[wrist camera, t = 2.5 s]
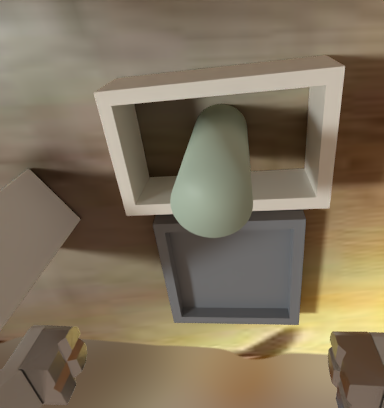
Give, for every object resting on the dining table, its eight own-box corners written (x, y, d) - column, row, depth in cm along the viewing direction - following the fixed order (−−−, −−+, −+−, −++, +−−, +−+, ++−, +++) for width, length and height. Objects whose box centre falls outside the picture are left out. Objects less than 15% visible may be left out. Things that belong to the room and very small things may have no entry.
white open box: (116, 78, 26) (93, 92, 22) (325, 54, 24) (345, 66, 19) (141, 187, 31) (126, 215, 27) (315, 178, 29) (329, 208, 24)
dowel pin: (192, 106, 27) (164, 170, 17) (246, 101, 26) (252, 164, 16) (197, 156, 29) (176, 238, 19) (248, 152, 28) (254, 236, 18)
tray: (156, 212, 33) (152, 224, 31) (302, 207, 30) (306, 219, 29) (177, 309, 40) (174, 322, 38) (295, 310, 37) (298, 324, 36)
